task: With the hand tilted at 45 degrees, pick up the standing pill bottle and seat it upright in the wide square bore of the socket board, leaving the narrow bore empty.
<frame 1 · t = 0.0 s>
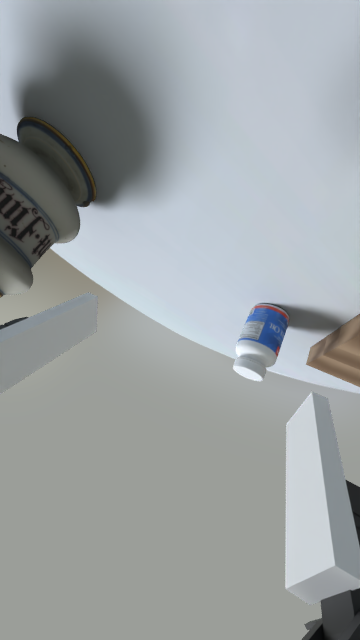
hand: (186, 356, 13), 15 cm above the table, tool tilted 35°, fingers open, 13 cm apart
apothecary jar: (61, 166, 27), on the table
pill bottle: (270, 312, 33), on the table
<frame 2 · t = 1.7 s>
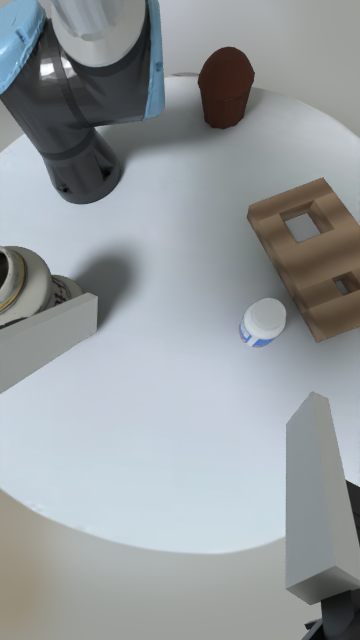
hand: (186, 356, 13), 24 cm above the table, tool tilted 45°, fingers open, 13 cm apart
muffin: (223, 116, 52), on the table
apothecary jar: (70, 320, 42), on the table
pill bottle: (254, 331, 37), on the table
socket board: (316, 259, 39), on the table
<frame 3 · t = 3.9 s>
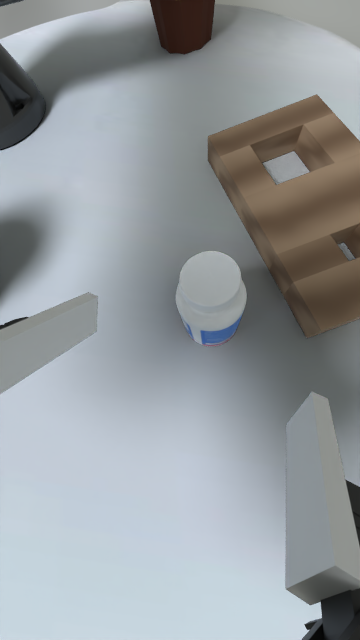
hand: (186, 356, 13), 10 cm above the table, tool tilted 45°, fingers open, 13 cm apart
muffin: (186, 39, 39), on the table
pill bottle: (210, 322, 24), on the table
socket board: (306, 213, 26), on the table
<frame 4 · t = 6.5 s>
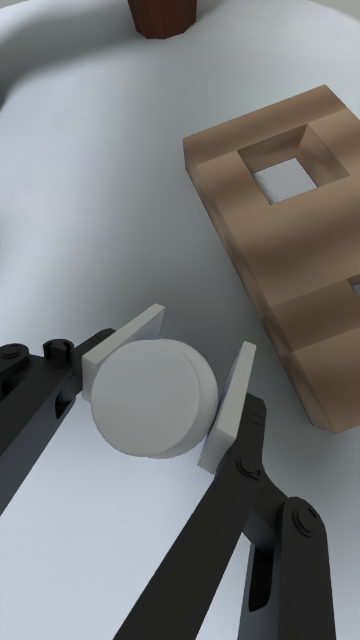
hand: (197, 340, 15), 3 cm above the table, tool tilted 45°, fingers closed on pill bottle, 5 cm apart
muffin: (166, 23, 33), on the table
pill bottle: (179, 393, 17), on the table, touching gripper
socket board: (311, 241, 20), on the table
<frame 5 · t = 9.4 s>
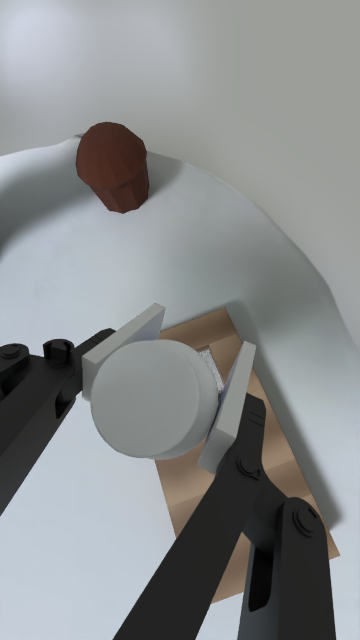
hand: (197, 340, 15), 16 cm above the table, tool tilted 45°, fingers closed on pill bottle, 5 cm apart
muffin: (125, 194, 41), on the table
pill bottle: (179, 393, 17), point 13 cm above the table, touching gripper
socket board: (212, 428, 28), on the table
when the fingers open (5 cm above the table, at t = 12.6 s): pill bottle drops 1 cm, resting in socket board.
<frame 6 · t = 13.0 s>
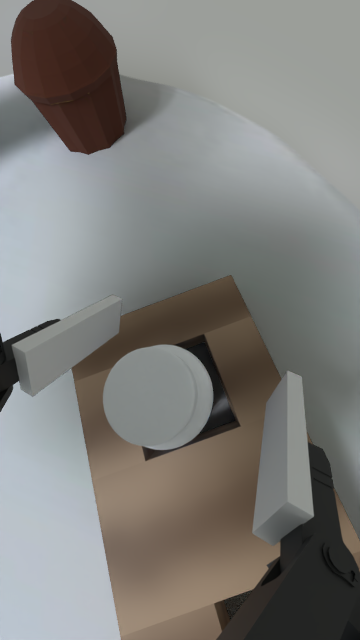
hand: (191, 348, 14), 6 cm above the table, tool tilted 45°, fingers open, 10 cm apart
muffin: (94, 130, 30), on the table
pill bottle: (179, 392, 19), resting in socket board
socket board: (208, 473, 17), on the table
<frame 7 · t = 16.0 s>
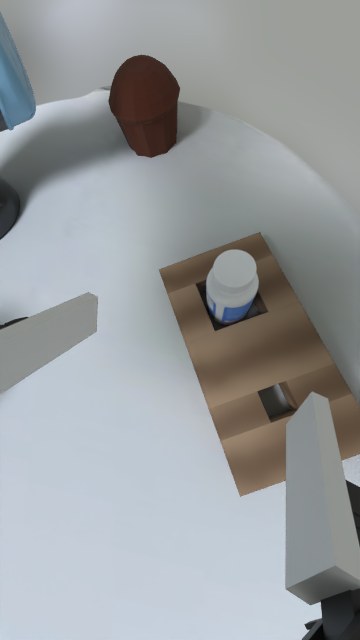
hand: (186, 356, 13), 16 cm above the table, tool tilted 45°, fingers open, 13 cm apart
muffin: (153, 140, 42), on the table
pill bottle: (227, 306, 30), resting in socket board
socket board: (247, 347, 28), on the table
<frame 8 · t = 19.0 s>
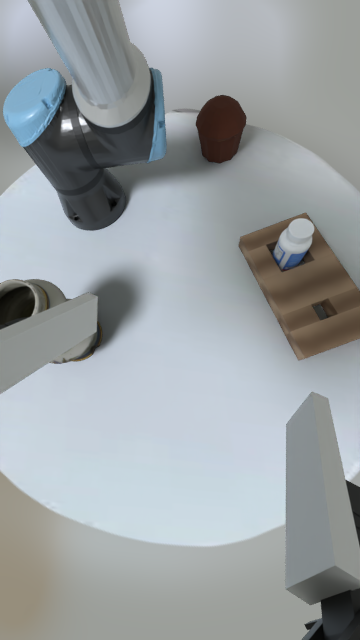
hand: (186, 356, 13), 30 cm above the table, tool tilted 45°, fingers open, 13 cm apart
muffin: (219, 150, 58), on the table
apothecary jar: (80, 337, 47), on the table
pill bottle: (283, 261, 47), resting in socket board
socket board: (299, 285, 44), on the table
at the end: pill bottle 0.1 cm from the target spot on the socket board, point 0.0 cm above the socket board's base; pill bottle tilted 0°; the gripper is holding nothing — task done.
